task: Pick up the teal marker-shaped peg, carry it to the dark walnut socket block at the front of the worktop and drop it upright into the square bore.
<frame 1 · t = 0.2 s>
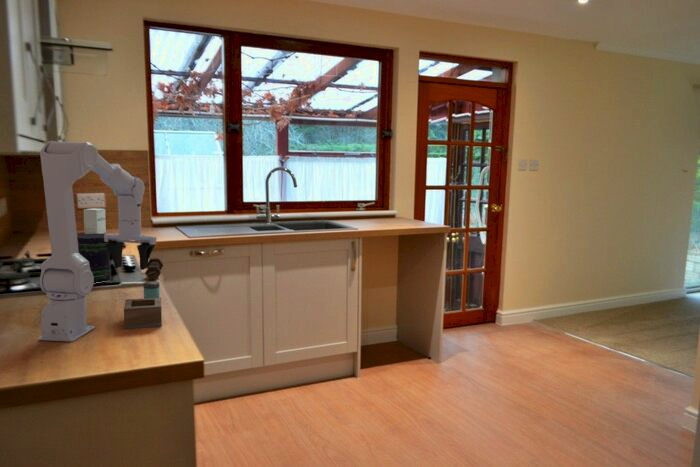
hand: (131, 268, 143), 10 cm above the counter, fingers open, 7 cm apart
supplement box: (95, 233, 261), on the counter
socket: (143, 322, 128), on the counter
peg: (151, 308, 140), on the counter
storage jar: (94, 281, 166), on the counter
dark dumbbell: (153, 277, 176), on the counter
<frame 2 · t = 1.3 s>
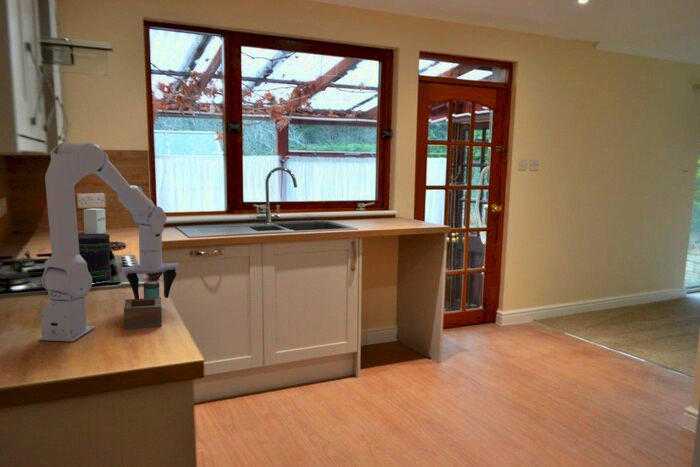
hand: (151, 298, 139), 3 cm above the counter, fingers open, 7 cm apart
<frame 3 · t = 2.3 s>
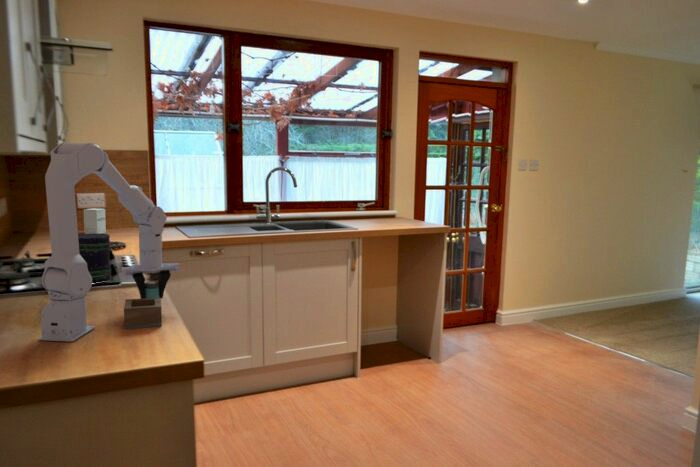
hand: (151, 298, 139), 3 cm above the counter, fingers closed on peg, 4 cm apart
peg: (151, 308, 140), on the counter, touching gripper
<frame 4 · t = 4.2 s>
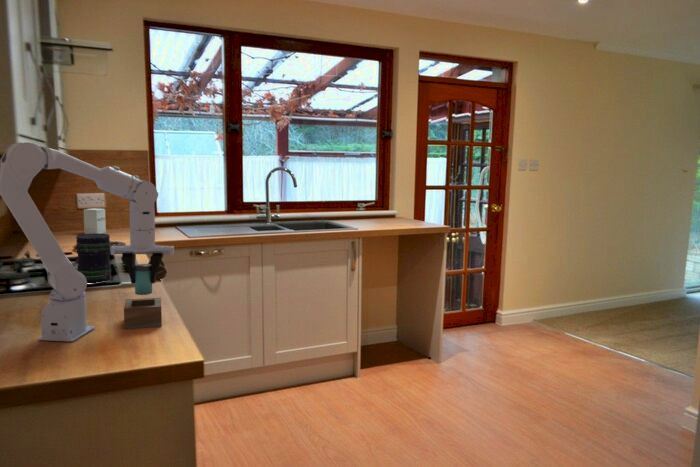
hand: (143, 282, 128), 10 cm above the counter, fingers closed on peg, 4 cm apart
peg: (143, 292, 128), point 7 cm above the counter, touching gripper
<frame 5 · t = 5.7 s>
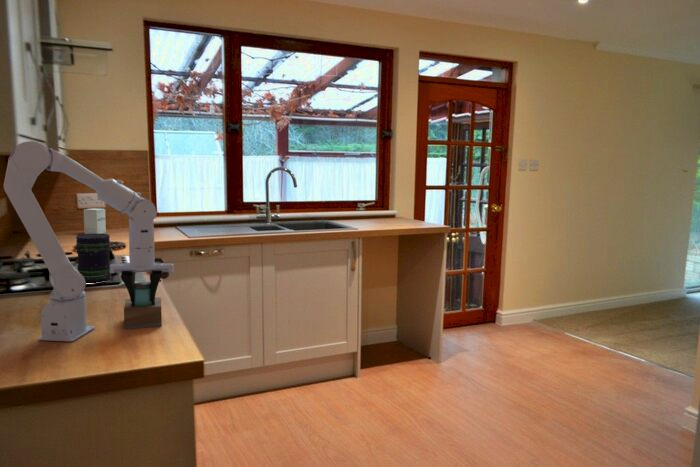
hand: (143, 300, 127), 6 cm above the counter, fingers closed on peg, 4 cm apart
peg: (143, 310, 127), point 3 cm above the counter, touching gripper
when the fingers open (6 cm above the counter, at t = 6.5 s): peg drops 2 cm, resting on socket.
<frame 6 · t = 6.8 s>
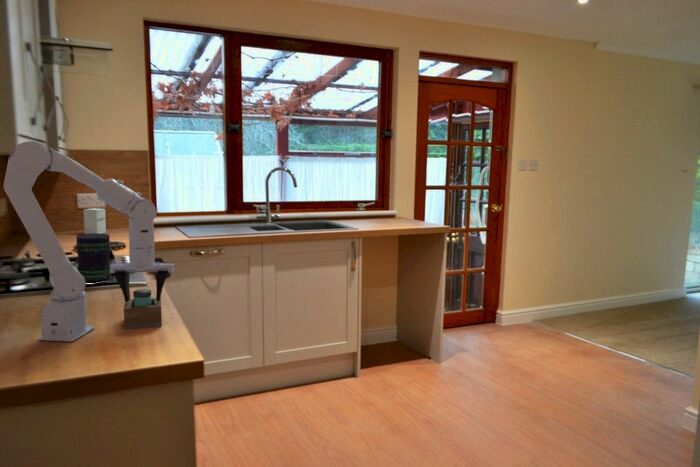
hand: (143, 300, 127), 6 cm above the counter, fingers open, 7 cm apart
peg: (142, 318, 127), point 1 cm above the counter, touching socket
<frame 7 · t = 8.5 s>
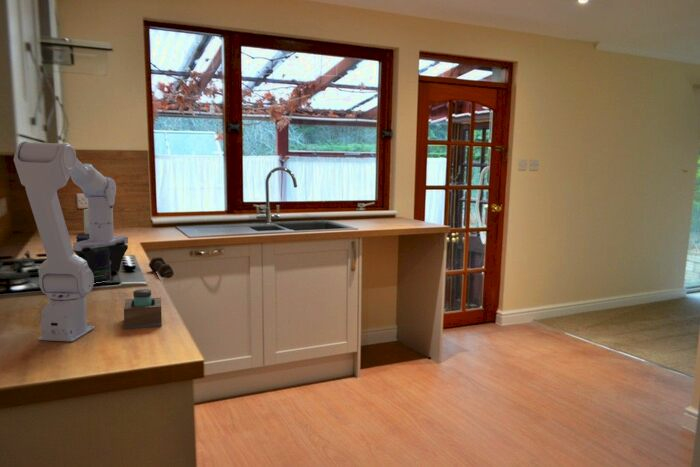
hand: (103, 273, 135), 10 cm above the counter, fingers open, 7 cm apart
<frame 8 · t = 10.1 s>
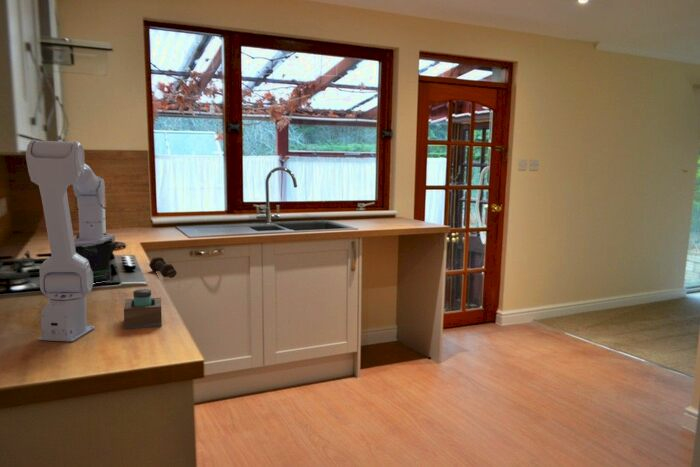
hand: (92, 271, 137), 10 cm above the counter, fingers open, 7 cm apart
at the end: peg 0.1 cm off-centre on the socket, point 1.0 cm above the socket's base; peg tilted 0°; the gripper is holding nothing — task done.
